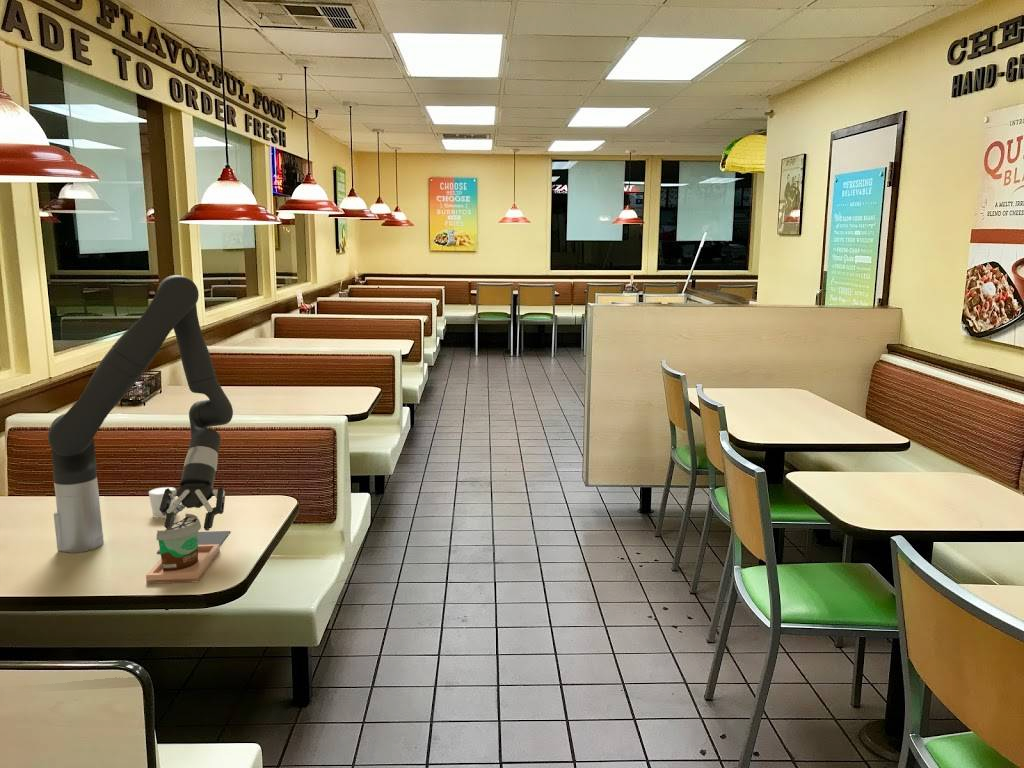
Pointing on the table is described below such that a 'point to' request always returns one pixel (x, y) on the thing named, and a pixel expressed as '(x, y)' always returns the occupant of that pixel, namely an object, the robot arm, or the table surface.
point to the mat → (211, 538)
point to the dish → (188, 574)
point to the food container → (179, 544)
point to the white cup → (158, 500)
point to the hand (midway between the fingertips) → (187, 529)
